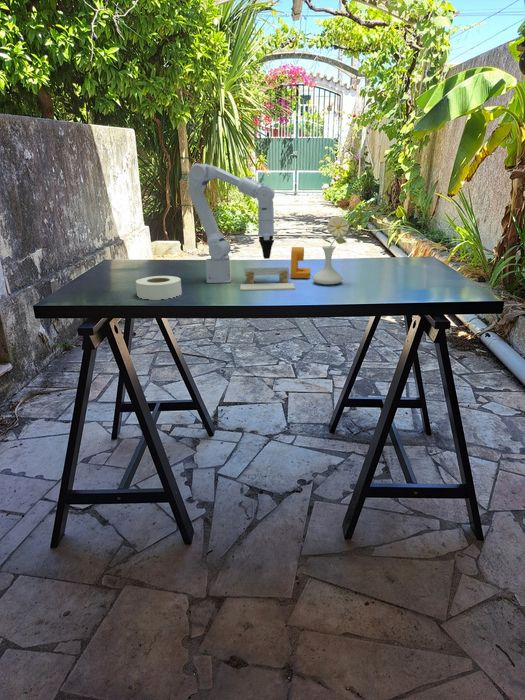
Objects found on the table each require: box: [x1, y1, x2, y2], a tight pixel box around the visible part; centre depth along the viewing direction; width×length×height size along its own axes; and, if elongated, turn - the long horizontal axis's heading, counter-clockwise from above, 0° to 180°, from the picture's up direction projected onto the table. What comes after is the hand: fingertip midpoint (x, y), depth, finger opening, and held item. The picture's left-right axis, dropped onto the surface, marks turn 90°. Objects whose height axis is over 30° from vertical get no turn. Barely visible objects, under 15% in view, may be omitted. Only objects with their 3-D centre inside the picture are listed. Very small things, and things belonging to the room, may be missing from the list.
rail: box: [244, 266, 290, 277], centre depth 185 cm, size 17×2×2 cm, turn 91°
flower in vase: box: [312, 215, 350, 285], centre depth 178 cm, size 13×11×25 cm
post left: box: [245, 273, 255, 284], centre depth 186 cm, size 3×5×4 cm, turn 1°
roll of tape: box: [135, 275, 183, 301], centre depth 170 cm, size 16×16×6 cm
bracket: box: [290, 246, 311, 279], centre depth 193 cm, size 11×7×12 cm, turn 172°
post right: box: [278, 272, 289, 283], centre depth 186 cm, size 3×5×4 cm, turn 1°
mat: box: [239, 282, 296, 292], centre depth 178 cm, size 20×8×1 cm, turn 91°
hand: (266, 256), depth 183 cm, fingers open, 7 cm apart
